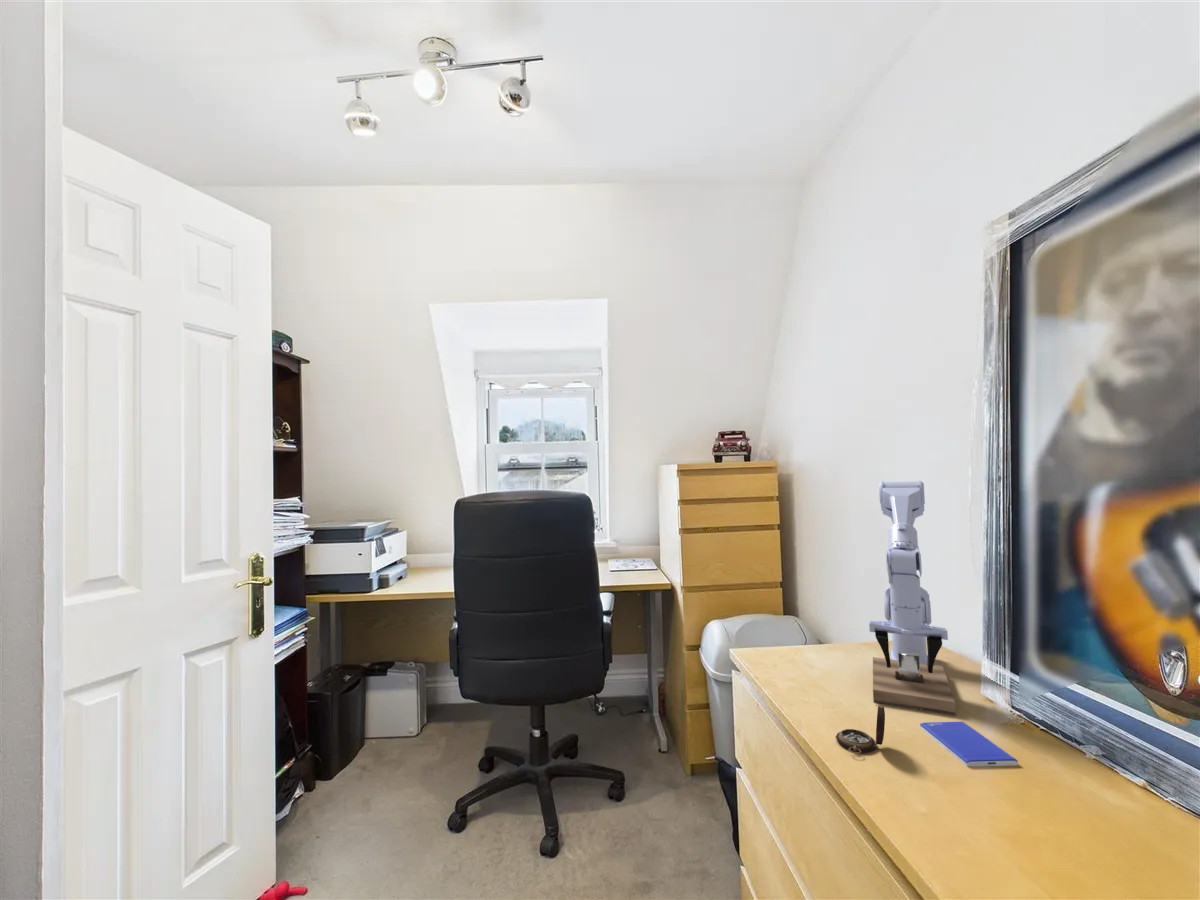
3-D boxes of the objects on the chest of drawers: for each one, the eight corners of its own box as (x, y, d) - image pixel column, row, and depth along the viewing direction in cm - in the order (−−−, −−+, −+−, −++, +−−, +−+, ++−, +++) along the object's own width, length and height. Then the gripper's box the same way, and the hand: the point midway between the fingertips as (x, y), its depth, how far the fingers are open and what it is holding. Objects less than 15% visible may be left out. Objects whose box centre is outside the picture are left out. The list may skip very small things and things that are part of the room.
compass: (836, 732, 95) (835, 691, 96) (886, 741, 92) (884, 699, 92) (834, 754, 88) (832, 710, 88) (887, 765, 84) (885, 719, 85)
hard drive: (919, 722, 96) (966, 760, 83) (964, 721, 96) (1017, 758, 83) (920, 731, 96) (967, 770, 83) (964, 729, 96) (1018, 768, 83)
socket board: (873, 667, 124) (872, 657, 124) (943, 676, 118) (942, 665, 118) (873, 702, 107) (873, 689, 107) (955, 715, 100) (955, 701, 100)
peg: (898, 681, 115) (897, 649, 115) (919, 684, 113) (918, 651, 113) (900, 688, 111) (898, 655, 112) (922, 691, 109) (920, 658, 110)
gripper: (868, 606, 113) (871, 670, 112) (948, 613, 106) (951, 680, 105) (868, 598, 119) (871, 658, 118) (943, 604, 112) (947, 668, 112)
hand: (909, 668), depth 112 cm, fingers open, 7 cm apart
